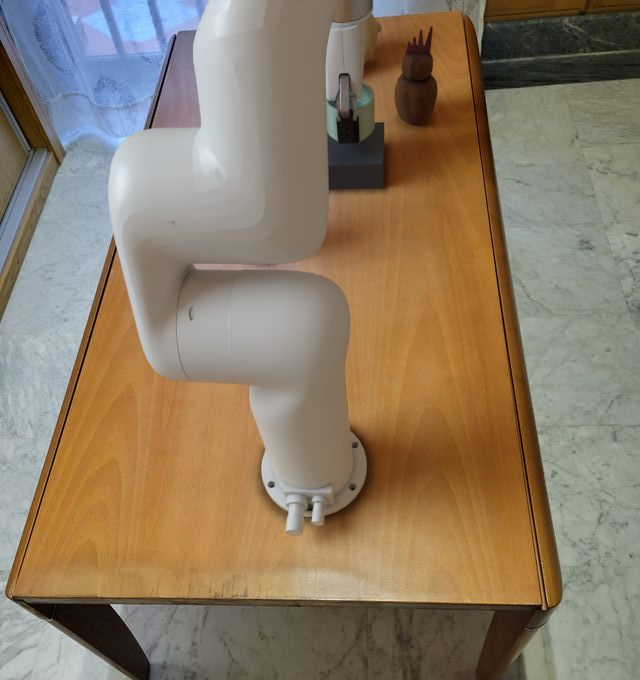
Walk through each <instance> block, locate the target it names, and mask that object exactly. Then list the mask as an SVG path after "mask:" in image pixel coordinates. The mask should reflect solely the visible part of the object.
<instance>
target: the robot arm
mask: <svg viewBox="0 0 640 680" xmlns="http://www.w3.org/2000/svg"><path fill="white" fill-rule="evenodd" d="M373 12H374V0H208V1H207V4H206V6H205V8H204V11H203V12H202V16H201V18H200V20H199V23H198V25H197V29H196V32H195V36H194V40H193V44H192V46H193V47H192V62H193V66H194V69H193V70H194V75H195V83H196V90H197V98H198V99H197V100H198V105H199V106H198V107H199V115H200V126H186V127H185V126H182V127H180V126H178V127H155V128H154V127H153V128H147V129H143V130H139V131H136V132H134V133H132V134H130V135H128V136H127V137H126V138H124V139H123V140H122V141H121V143H119V145H118V146H117V148H116V150H115V152H114V155H113V157H112V159H111V163H110V167H109V173H108V182H107V199H108V200H107V202H108V211H109V212H108V213H109V218H110V223H111V228H112V234H113V238H114V242H115V246H116V252H117V255H118V258H119V263H120V267H121V271H122V275H123V279H124V283H125V286H126V290H127V294H128V298H129V302H130V306H131V310H132V314H133V318H134V322H135V326H136V330H137V334H138V337H139V342H140V344H141V347H142V351H143V353H144V355H145V358H146V361H147V362H148V363H149V365H150V367H151V368H152V370H154V371H155V372H156V373H157V374H158V375H159V376H161V377H164V378H165V379H168V380H172V381H177V382H188V383H201V384H224V385H225V384H227V385H241V386H249V393H248V399H249V401H248V402H249V406H250V410H251V412H252V415H253V418H254V421H255V423H256V427H257V429H258V432H259V435H260V438H261V441H262V443H263V447H264V449H265V450H264V454H263V457H262V460H261V467H260V470H261V478H262V482H263V486H264V488H265V490H266V492H267V494H268V495H269V497H270V499H271V500H272V501H273V502H274V503H275V504H277V505H278V507H280V508H281V509H283V510H285V511H286V512H288V513H287V516H286V524H285V525H286V526H285V534H286V535H288V536H291V537H292V536H293V537H300V536H303V534H304V525H305V517H306V518H311V525H313V526H314V527H315V526H317V527H322V526H324V524H325V516H329V515H332V514H334V513H337V512H339V511H340V510H342V509H344V508H346V507H347V506H348V505H350V504H351V502H353V501H354V500H355V499H356V497H357V496H358V495H359V493H360V492H361V490H362V488H363V486H364V484H365V481H366V477H367V473H368V472H367V471H368V470H367V469H368V468H367V467H368V463H367V456H366V452H365V448H364V447H363V445H362V442H361V441H360V439H359V438H358V437H357V436H356V435H355V433H354V432H352V431H351V425H350V415H349V413H350V412H349V403H348V394H347V393H348V392H347V381H346V368H347V367H346V365H347V356H348V350H349V345H350V344H349V343H350V338H351V324H352V323H351V311H350V305H349V301H348V299H347V296H346V294H345V293H344V291H343V290H342V288H341V287H340V286H339V285H338V284H337V283H335V281H333V280H332V279H331V278H328V277H326V276H323V275H320V274H316V273H312V272H308V271H307V272H306V271H300V270H289V269H287V270H286V269H248V268H247V269H246V268H245V269H244V268H243V269H197V268H196V267H195V265H200V264H201V265H208V264H209V265H210V264H211V265H246V266H247V265H249V266H250V265H251V266H252V265H254V266H255V265H256V266H257V265H262V266H263V265H265V266H266V265H283V264H293V263H296V262H297V263H298V262H300V261H304V260H307V259H309V258H311V257H312V256H314V255H315V254H316V253H317V252H318V251H320V249H321V247H322V245H323V243H324V241H325V239H326V235H327V230H328V227H329V209H330V208H329V207H330V206H329V205H330V203H329V202H330V192H329V191H330V189H329V179H328V141H327V108H326V98H327V100H328V101H335V99H336V100H337V117H336V123H337V136H338V143H340V144H347V143H359V141H360V134H359V116H357V100H358V99H359V98H360V97H361V90H362V82H363V81H364V80H363V79H364V69H365V64H364V51H365V35H364V21H365V20H366V19H367V18H369V17H370V15H371V14H373ZM350 91H353V93H354V96H349V95H350ZM336 96H337V98H336ZM349 101H353V111H352V109H350V104H349ZM194 264H195V265H194ZM352 489H353V490H352Z"/></svg>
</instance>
